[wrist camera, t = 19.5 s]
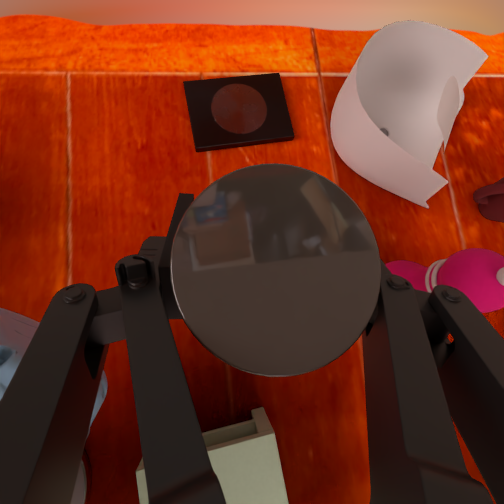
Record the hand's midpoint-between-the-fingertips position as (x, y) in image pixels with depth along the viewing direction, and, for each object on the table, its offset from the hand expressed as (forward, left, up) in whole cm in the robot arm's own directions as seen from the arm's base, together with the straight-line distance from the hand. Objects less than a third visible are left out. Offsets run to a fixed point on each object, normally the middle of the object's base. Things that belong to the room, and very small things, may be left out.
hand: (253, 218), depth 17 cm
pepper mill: (+21, -7, -25) cm, 33 cm away
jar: (-1, -3, -2) cm, 4 cm away
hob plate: (+6, +24, -24) cm, 34 cm away
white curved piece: (+27, +16, -25) cm, 40 cm away
